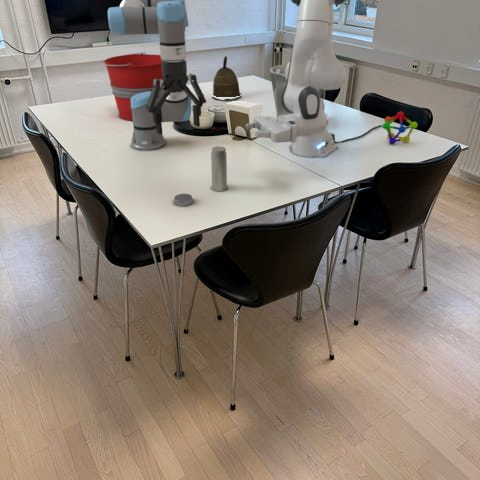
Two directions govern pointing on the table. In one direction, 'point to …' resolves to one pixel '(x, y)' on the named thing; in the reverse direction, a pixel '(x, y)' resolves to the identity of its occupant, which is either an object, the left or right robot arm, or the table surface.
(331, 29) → the right robot arm
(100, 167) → the table surface
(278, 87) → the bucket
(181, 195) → the lid
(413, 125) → the educational toy
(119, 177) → the table surface
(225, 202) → the table surface
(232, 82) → the bell
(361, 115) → the table surface
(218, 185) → the jar
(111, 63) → the bucket
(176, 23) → the left robot arm
